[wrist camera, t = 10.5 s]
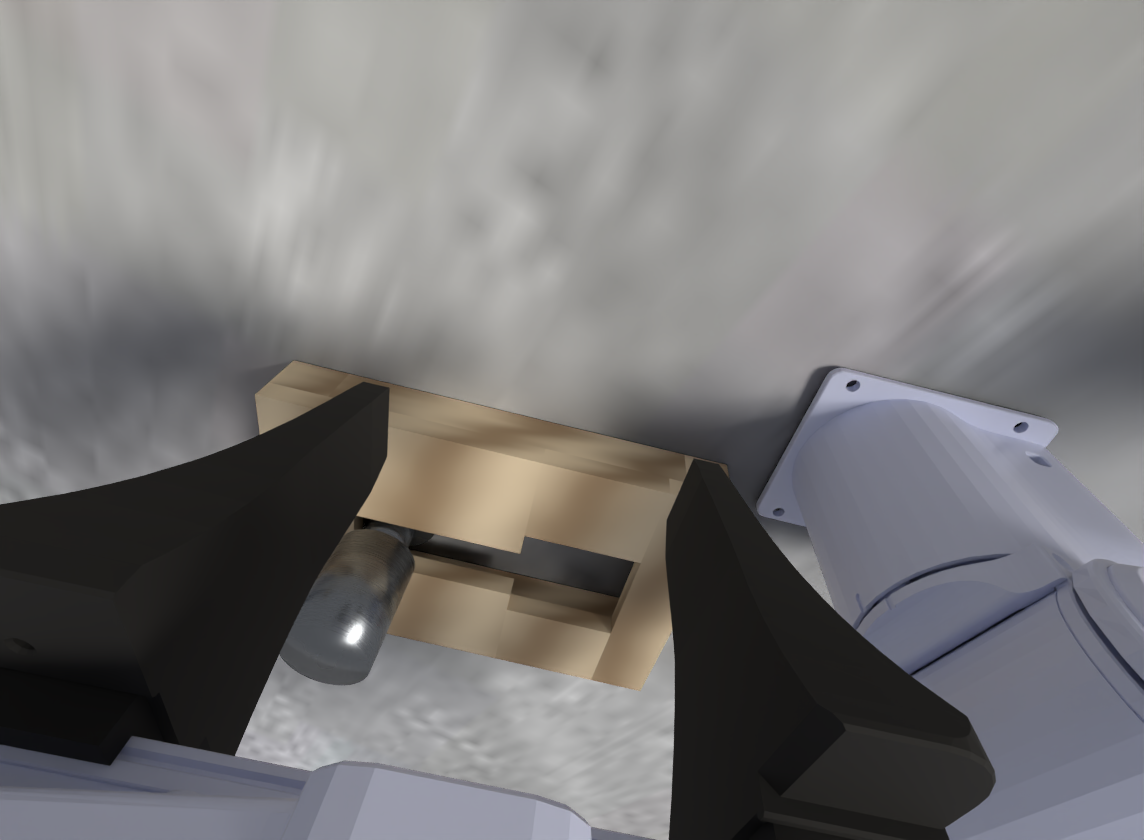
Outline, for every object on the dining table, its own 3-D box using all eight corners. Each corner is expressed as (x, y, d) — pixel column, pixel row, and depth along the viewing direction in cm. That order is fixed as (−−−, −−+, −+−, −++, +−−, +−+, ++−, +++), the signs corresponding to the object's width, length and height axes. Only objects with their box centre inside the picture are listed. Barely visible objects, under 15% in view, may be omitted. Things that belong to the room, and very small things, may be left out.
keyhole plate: (726, 464, 25) (736, 509, 23) (640, 643, 33) (640, 690, 31) (293, 360, 25) (254, 394, 22) (309, 567, 32) (281, 609, 30)
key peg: (445, 478, 28) (372, 635, 20) (443, 535, 30) (377, 695, 22) (366, 463, 28) (264, 615, 20) (370, 521, 30) (280, 677, 22)
